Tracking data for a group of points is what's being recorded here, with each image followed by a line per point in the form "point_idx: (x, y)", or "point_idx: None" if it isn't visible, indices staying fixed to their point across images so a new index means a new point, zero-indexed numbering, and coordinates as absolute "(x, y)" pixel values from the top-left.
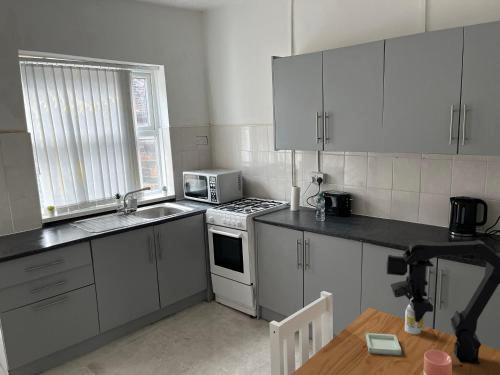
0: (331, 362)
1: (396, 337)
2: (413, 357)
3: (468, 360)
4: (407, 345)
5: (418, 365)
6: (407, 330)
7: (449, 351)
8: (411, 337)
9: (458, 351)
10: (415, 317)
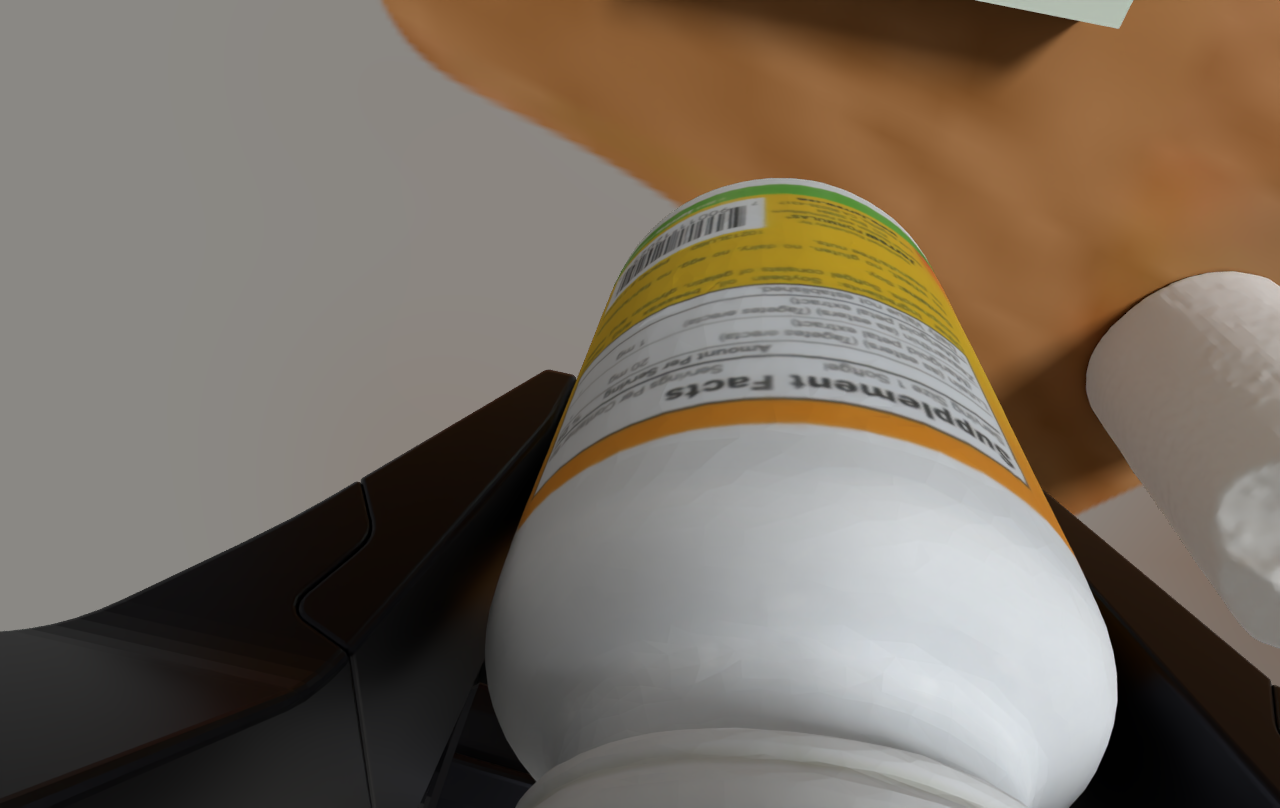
0: None
1: (1037, 10)
2: (629, 102)
3: None
4: (893, 143)
5: (474, 91)
6: (1195, 293)
7: None
8: (1050, 278)
9: None
10: (451, 429)
